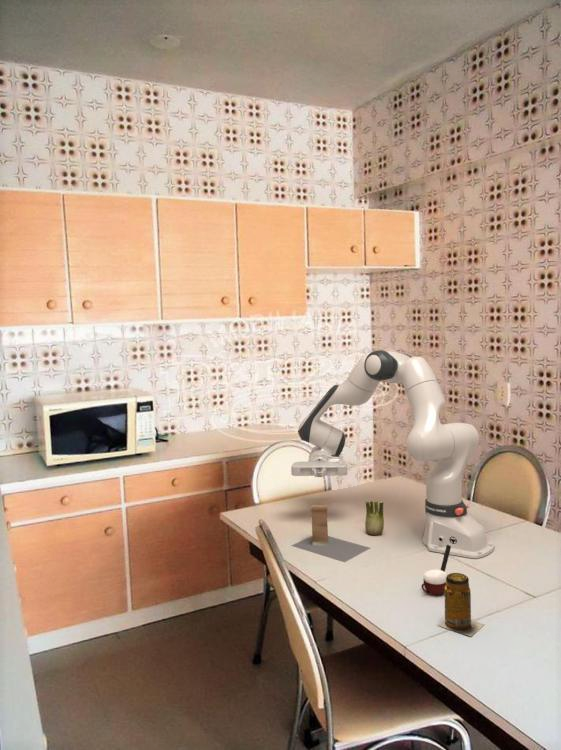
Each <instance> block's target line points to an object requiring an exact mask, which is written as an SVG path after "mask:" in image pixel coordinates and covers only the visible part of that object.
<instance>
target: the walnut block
mask: <svg viewBox="0 0 561 750" xmlns="http://www.w3.org/2000/svg"><path fill="white" fill-rule="evenodd" d="M327 506H328V505H327V504H311V511H310V512H311V513H310V514H311V536H312V540H313V545H328V536H329V531H328V507H327Z"/></svg>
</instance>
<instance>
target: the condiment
mask: <svg viewBox="0 0 561 750" xmlns="http://www.w3.org/2000/svg"><path fill="white" fill-rule="evenodd" d="M469 580H470V579H469V577H468V575H466V574H463V573H461V572H451V573H449V574H448V573H447V576H446V586H445V592H444V620H442V621H441V622H440V623H439V624H437V626H438V627H442V628H444V629H446V630H449V631H452V632H457V633H459V634H462V635H466V636H469V637H472V636H474V635H475V634H476V633H477V632H479V631H480V630H481V628H483V627H484V626H485V624H484V623H481V622H478V621H475V620H473V619H472V608H471V607H472V603H471V601H472V597H471V596H472V595H471V588H470V583H469Z"/></svg>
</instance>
